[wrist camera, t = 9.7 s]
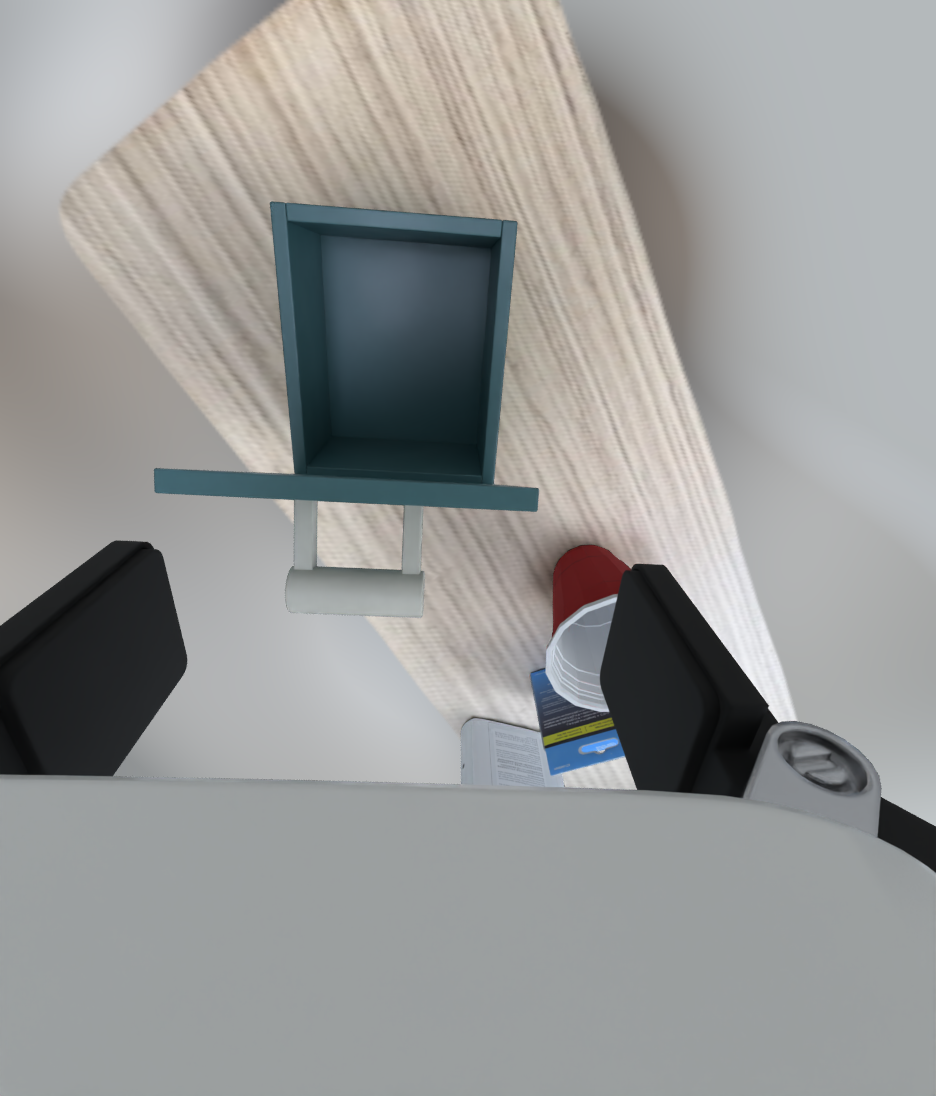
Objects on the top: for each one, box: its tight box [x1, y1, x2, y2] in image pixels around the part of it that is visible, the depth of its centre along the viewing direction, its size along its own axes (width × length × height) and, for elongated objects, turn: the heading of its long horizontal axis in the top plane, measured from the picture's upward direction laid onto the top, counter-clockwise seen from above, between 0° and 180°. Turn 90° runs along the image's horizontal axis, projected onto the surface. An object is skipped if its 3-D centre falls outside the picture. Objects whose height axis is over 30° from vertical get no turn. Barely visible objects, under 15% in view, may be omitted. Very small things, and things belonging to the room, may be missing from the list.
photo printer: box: [461, 718, 565, 787], centre depth 49 cm, size 10×4×12 cm, turn 72°
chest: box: [270, 202, 518, 484], centre depth 33 cm, size 15×13×8 cm
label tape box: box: [530, 669, 625, 776], centre depth 45 cm, size 9×4×12 cm, turn 110°
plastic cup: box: [545, 545, 631, 712], centre depth 40 cm, size 11×11×12 cm
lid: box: [154, 468, 539, 618], centre depth 25 cm, size 15×13×5 cm
